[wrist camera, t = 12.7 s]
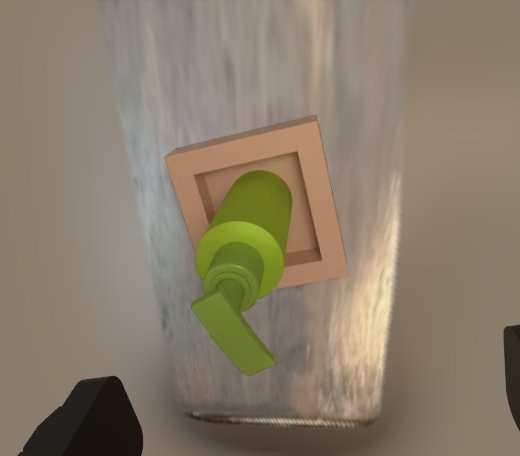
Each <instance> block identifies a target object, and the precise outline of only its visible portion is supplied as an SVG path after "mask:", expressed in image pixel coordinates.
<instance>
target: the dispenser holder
mask: <svg viewBox="0 0 520 456" xmlns="http://www.w3.org/2000/svg"><path fill="white" fill-rule="evenodd" d="M164 158H165V161H166V164H167V167H168V170H169V173H170V176H171V179H172V183H173V186H174V189H175V192H176V195H177V198H178V201H179V204H180V207H181V210H182V213H183V216H184V219H185V222H186V225H187V228H188V231H189V234H190V237H191V240H192V243H193V246H194V249H195V253H196V252H197V248H198V245H199V243H200V241H201V239H202V237H203V236H204V234H205V232H206V231H207V229H208V227H209V225H210V224H211V222H212V220H213V218H214V217H215V215H216V213H217V212H218V210H219V208H220V206H221V205H222V203H223V201H224V200H225V198H226V196H227V194H228V193H229V191H230V189H231V187H232V186H233V184H234V183H235V181H236V180H237V179H238V178H239V177H240V176H242V175H243V174H245V173H247V172H250V171H254V170H265V171H269V172H272V173H274V174H276V175H278V176H279V177H281V178H282V179H283V180H284V181H285V182H286V183H287V185H288V186H289V188H290V191H291V194H292V199H293V204H292V212H291V219H290V227H289V234H288V242H287V249H286V257H285V264H284V271H283V275H282V277H281V280H280V282H279V283H278V285H277V286H276V287H275V288H274V289H279V288H285V287H291V286H297V285H302V284H308V283H314V282H320V281H325V280H331V279H337V278H343V277H348V276H349V272H348V266H347V259H346V254H345V250H344V245H343V240H342V235H341V230H340V226H339V221H338V216H337V211H336V206H335V201H334V197H333V192H332V187H331V182H330V177H329V172H328V168H327V163H326V158H325V153H324V148H323V144H322V139H321V134H320V129H319V124H318V119H317V115H312V116H308V117H304V118H300V119H296V120H292V121H287V122H283V123H279V124H275V125H271V126H267V127H263V128H259V129H254V130H250V131H246V132H242V133H238V134H234V135H230V136H225V137H221V138H217V139H213V140H209V141H205V142H201V143H197V144H192V145H188V146H184V147H180V148H176V149H175V150H173V151H172V152H171V153H169V154H168V155H167V156H165V157H164Z"/></svg>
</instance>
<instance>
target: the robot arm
mask: <svg viewBox="0 0 520 456" xmlns="http://www.w3.org/2000/svg"><path fill="white" fill-rule="evenodd" d="M504 356H505V376H506V392H507V398H508V402H509V406H510V410H511V413H512V416H513V418H514V421H515V423H516V425H517V427H518V429H519V431H520V325H515V326H507V327H506V328H505V329H504ZM142 449H143V434H142V429H141V426H140V423H139V421H138V419H137V416H136V414H135V412H134V409H133V407H132V405H131V403H130V400H129V398H128V396H127V393H126V391H125V389H124V387H123V384H122V382H121V380H120V379H119V378H118V377H116V376H108V377H101V378H93V379H85V380H81V381H80V382H78V384H77V385H76V386H75V387H74V389H73V390H72V392H71V393H70V395H69V397H68V398H67V399H66V401H65V403H64V404H63V406H61V407H58V408H57V409H56V410H55V411H54V412H53V413H52V414H51V415H50V416H49V417H47V418H46V419H45V420H44V421H43V422H42V423H41V424H40V425H39V426H38V427H37V428H36V430H35V431H34V433H33V434H32V436H31V437H30V439H29V440H28V441H27V443H26V444H25V446H24V447H23V452H20V453H19V454H18V456H141V454H142Z"/></svg>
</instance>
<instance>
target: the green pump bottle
mask: <svg viewBox="0 0 520 456" xmlns="http://www.w3.org/2000/svg"><path fill="white" fill-rule="evenodd" d="M292 204H293V199H292V194H291V191H290V188H289V186H288V185H287V183H286V182H285V181H284V180H283V179H282V178H281V177H279V176H278V175H276V174H274V173H272V172H269V171H265V170H254V171H250V172H247V173H245V174H243V175H242V176H240V177H239V178H238V179H237V180H236V181H235V183H234V184H233V186H232V187H231V189H230V191H229V193H228V194H227V196H226V198H225V200H224V201H223V203H222V205H221V206H220V208H219V210H218V212H217V213H216V215H215V217H214V218H213V220H212V222H211V224H210V225H209V227H208V229H207V231H206V232H205V234H204V236H203V237H202V239H201V241H200V243H199V245H198V248H197V252H196V265H197V269H198V272H199V275H200V277H201V279H202V280H203V291H204V295H205V296H203V297H201V298H199V299H197V300H196V301H194V302H193V304H192V306H191V308H192V309H193V311H194V312H195V314H196V315H197V317H198V318H199V320H200V321H201V322H202V324H203V325H204V327H205V328H206V330H207V331H208V332H209V334H210V335H211V337H212V338H213V339H214V341H215V342H216V343H217V345H218V346H219V347H220V348H221V350H222V351H223V352H224V353H225V354H226V356H227V357H228V358H229V359H230V360H231V361H232V362H233V363H234V364H235V365H236V366H237V367H238V368H239V369H240V370H241V371H242V372H243V373H244V374H246V375H247V376H251V375H253V374H255V373H257V372H259V371H262V370H264V369H266V368H268V367H270V366H272V365H274V364H276V362H275V359H274V356H273V354H272V353H271V352H270V351H269V349H268V348H267V347H266V346H265V345H264V344H263V343H262V342H261V340H260V339H259V338H258V337H257V335H256V334H255V333H254V331H253V330H252V329H251V327H250V326H249V324H248V323H247V322H246V320H245V319H244V317H243V316H242V314H241V313H240V312H243V311H246V310H247V309H249V308H250V307H252V306H253V304H254V303H255V302H256V300H257V299H260V298H262V297H264V296H266V295H267V294H269V293H270V292H271V291H272V290H274V288H275V287H276V286H277V285H278V283H279V282H280V280H281V277H282V275H283V271H284V264H285V257H286V249H287V242H288V234H289V227H290V219H291V212H292Z"/></svg>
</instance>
